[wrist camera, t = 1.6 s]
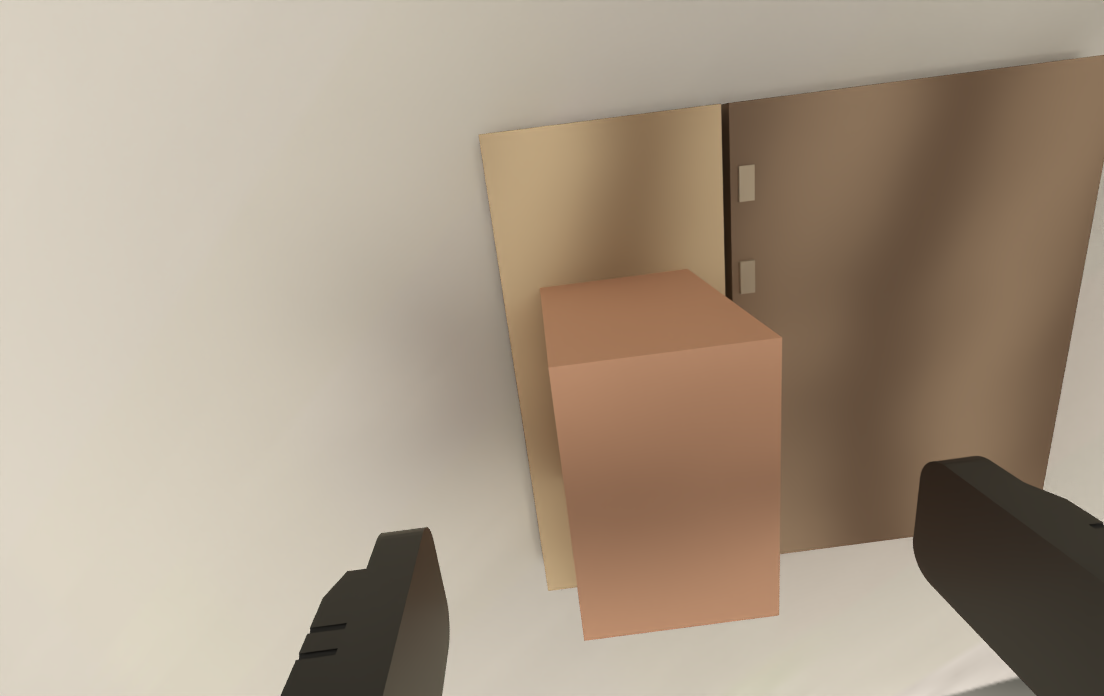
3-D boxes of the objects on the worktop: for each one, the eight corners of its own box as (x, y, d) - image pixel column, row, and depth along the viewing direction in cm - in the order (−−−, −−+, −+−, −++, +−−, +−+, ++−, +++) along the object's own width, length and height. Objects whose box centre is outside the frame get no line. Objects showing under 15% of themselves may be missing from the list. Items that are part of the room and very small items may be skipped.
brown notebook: (1080, 59, 16) (1127, 51, 14) (1008, 499, 20) (1039, 522, 19) (714, 106, 16) (730, 102, 14) (725, 536, 20) (738, 562, 19)
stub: (706, 107, 15) (852, 72, 8) (719, 543, 20) (821, 747, 13) (481, 135, 15) (447, 124, 8) (546, 565, 20) (558, 782, 13)
